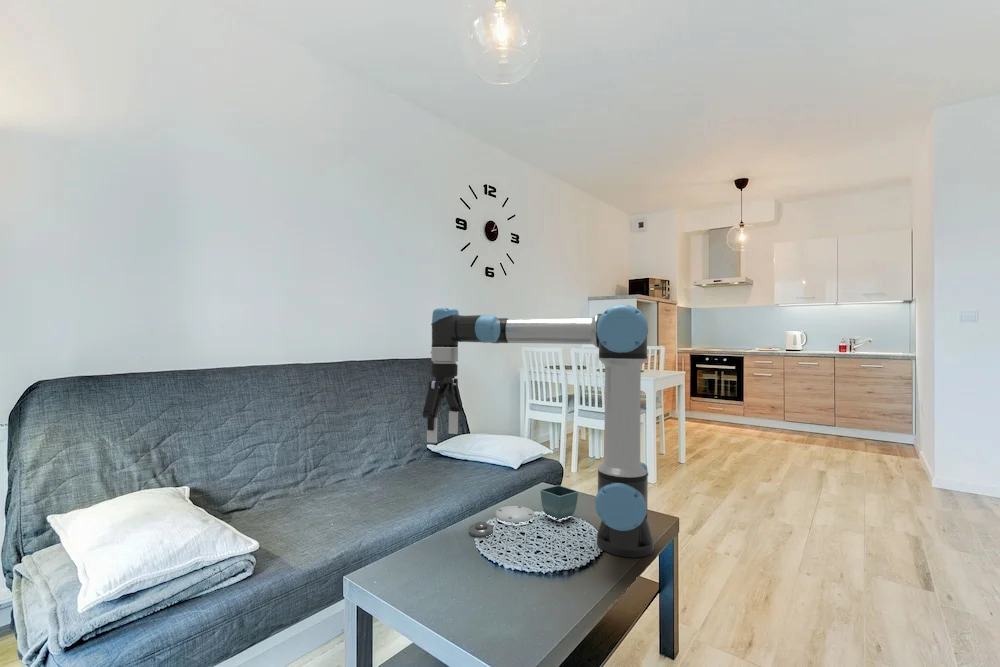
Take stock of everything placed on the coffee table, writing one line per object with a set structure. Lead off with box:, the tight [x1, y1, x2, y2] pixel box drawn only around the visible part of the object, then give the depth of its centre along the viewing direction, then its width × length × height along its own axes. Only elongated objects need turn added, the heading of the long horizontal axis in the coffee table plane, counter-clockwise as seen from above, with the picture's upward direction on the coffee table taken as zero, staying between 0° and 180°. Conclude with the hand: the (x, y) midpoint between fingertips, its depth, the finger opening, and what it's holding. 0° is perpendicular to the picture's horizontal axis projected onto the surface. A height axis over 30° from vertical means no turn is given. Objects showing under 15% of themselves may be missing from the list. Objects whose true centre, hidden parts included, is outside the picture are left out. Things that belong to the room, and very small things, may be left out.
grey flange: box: [495, 505, 535, 523], centre depth 144 cm, size 12×12×2 cm
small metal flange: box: [468, 521, 494, 538], centre depth 133 cm, size 7×7×2 cm
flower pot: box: [539, 484, 579, 519], centre depth 145 cm, size 9×9×9 cm
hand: (443, 437), depth 130 cm, fingers open, 13 cm apart
